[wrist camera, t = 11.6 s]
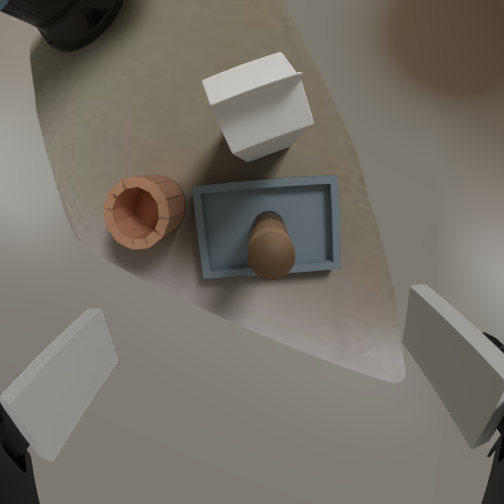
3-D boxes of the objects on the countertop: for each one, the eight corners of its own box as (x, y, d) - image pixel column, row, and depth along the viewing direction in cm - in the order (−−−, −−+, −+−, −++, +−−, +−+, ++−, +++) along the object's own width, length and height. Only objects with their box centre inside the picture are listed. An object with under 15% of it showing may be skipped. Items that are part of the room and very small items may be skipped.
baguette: (251, 212, 38) (244, 234, 24) (283, 209, 38) (294, 231, 24) (254, 242, 39) (249, 280, 25) (285, 240, 39) (296, 277, 25)
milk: (290, 146, 37) (326, 118, 15) (247, 163, 37) (227, 154, 16) (273, 105, 35) (285, 32, 14) (229, 121, 36) (190, 66, 15)
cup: (126, 180, 38) (100, 183, 31) (182, 171, 38) (163, 171, 31) (134, 238, 41) (110, 251, 33) (189, 232, 40) (173, 246, 33)
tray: (196, 185, 38) (191, 187, 36) (332, 175, 37) (337, 175, 35) (207, 272, 41) (203, 278, 39) (335, 262, 40) (340, 268, 38)
